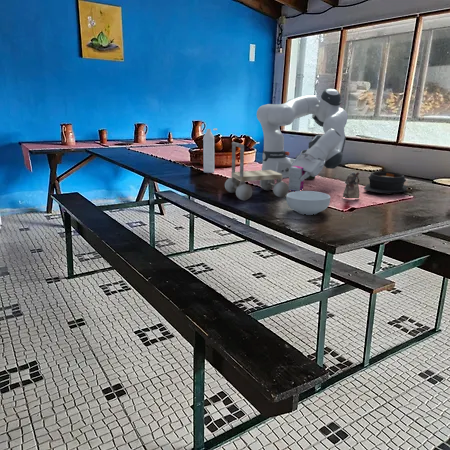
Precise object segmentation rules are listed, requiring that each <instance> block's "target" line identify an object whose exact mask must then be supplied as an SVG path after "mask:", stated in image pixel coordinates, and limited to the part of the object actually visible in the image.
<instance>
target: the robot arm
mask: <svg viewBox="0 0 450 450" xmlns="http://www.w3.org/2000/svg"><path fill="white" fill-rule="evenodd" d="M341 99H342V97H341V94H340V91H339V90H337V89H336V88H335V89H334V88H326V89H324V90H323V92H322V93H321V95H320V100H319V98H318V97H317V95H314V94H306V95H300V96H297V97H294V98H291V99H288V100H287V101H286V102H284V103H281V104H279V103H277V104H276V103H275V104H274V103H273V104H272V103H267V104H262V105H261V106H259V107H258V108H257V110H256V118H257V120H258V122H259V123H260V125H261V128H262V132H263V133H262V134H263V150H262V166H261V170H272V171H275V172H278V173H280V174H282V179H286V178H288V179H289V174H290V167H292V166H300V167H303V171H305V174H304V175H303V176H301V177H300V178H299V180H300V181H303V180H304V181H305V179H306V180H307V178H308V177H309V176H313V177H315V178H316V177H317V176H318V175H319V173H320V172H321V171H322V170H323V168H324V167H325V168H326V169H336V168H337V167H338V166H339V165H340V164H341V163H342V161H343V156H344V155H343V153H344V148H345V145H346V140H347V137H346V134H345V127H346V125H347V122H348V117H349V115H348V112H347V110H345V109H344V108H342V107H341V104H342V103H343V102H342V100H341ZM309 115H311V117H312V120H314V122H315V123H316V125H318V126H319V127H321V128H322V129H323V134H316V135H315V136H314V137H313V138H312V139H311V140H310V141H309V142H308V148H307V149H303V150H301V152H300V154H299V155H298V156H297V157H296V158H295V159H294V160H293V161H291V160H290V159H289V158H287V157H289V156H290V154H291V152H289V151H285V150H284V148H285V136H284V134H283V133H282V132H281V129H280V128H281V127H284V126H289V125H292V124H293V122H294V121H295V120H297V119H300V118H302V117H305V116H309Z"/></svg>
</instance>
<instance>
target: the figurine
mask: <svg viewBox="0 0 450 450" xmlns="http://www.w3.org/2000/svg"><path fill="white" fill-rule="evenodd" d="M359 175H360V172H356V173H355V172H353V171H352V172H350V173H349V174H347V177H346V179H345V181H344V184H345V187H344V191H343V193H342V197H345V198H359V199H360V186H359V183H360V177H359ZM356 180H357V181H356Z"/></svg>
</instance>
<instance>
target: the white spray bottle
mask: <svg viewBox="0 0 450 450" xmlns="http://www.w3.org/2000/svg"><path fill="white" fill-rule="evenodd" d="M212 131H218V128H213V129H211V128H207V129H206V131H205V134H203V137H202V138H203V139H202V141H203V143H202V145H203V148H202V149H203V150H202V151H203V152H202V153H203V155H202V156H203V163H202V164H203V169H202V170H203V173H206V174H208V173H209V174H211V173H214V172H215V135H214V134H213V132H212Z"/></svg>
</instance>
